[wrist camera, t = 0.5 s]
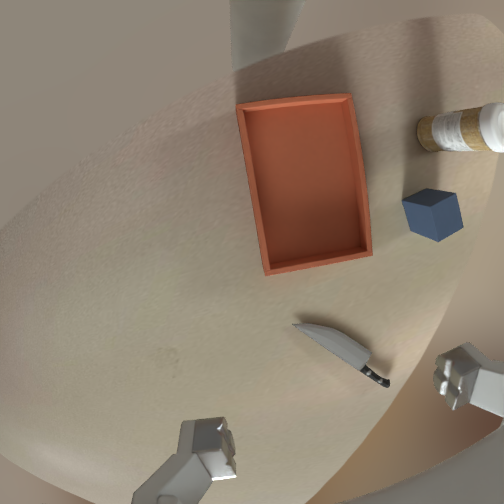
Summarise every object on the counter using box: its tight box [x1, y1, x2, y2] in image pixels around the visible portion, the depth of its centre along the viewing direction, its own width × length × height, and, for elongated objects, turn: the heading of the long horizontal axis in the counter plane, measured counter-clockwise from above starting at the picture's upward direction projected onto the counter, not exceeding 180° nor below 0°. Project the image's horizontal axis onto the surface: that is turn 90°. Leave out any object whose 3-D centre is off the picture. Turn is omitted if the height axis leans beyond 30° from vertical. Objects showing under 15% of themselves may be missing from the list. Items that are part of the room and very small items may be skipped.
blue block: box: [402, 188, 463, 242], centre depth 30 cm, size 4×4×6 cm
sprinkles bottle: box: [417, 102, 504, 152], centre depth 24 cm, size 5×5×13 cm
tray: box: [236, 93, 373, 276], centre depth 30 cm, size 17×12×3 cm
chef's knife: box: [292, 323, 390, 388], centre depth 37 cm, size 19×1×3 cm
